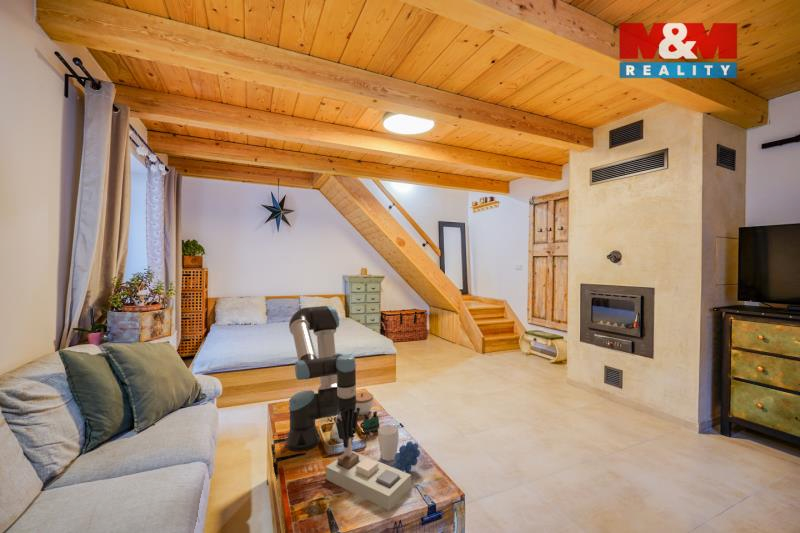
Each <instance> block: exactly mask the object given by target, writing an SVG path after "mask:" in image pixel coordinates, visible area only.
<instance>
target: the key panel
mask: <svg viewBox="0 0 800 533" xmlns="http://www.w3.org/2000/svg"><path fill="white" fill-rule="evenodd" d="M352 452H353V453H355V454H358V455H359V463H360V462H362V461H363V460H364V459H366V458H367V459H370V460H372V461H375V462H377V463H378V471H377V472H376V473H375V474H374V475H372V476H371V477H370V478H369V479H368V478H366V477H364V476H362V475H359V474H357V473H356V465H358V464H359V463H357V464H356V465H355V466H353V467H352V468H350V469H349V470H348V469H346V468H344V467H341V466H339V465H338V458H337V459H335V460H334V461H331V463H329V464H328V465H326V466H325V480H326V481H329V482H331V483H333V484H335V485H337V486H338V487H341V488H343V489H345V490H347V491H349V492H350V493H353V494H355V495H357V496H359V497H361V498H363V499H365V500H367V501H369V502H371V503H373V504H375V505H377V506H379V507H381V508H383V509H385V510H387V511H391V510H392V508H393V507H395V505H396V504H397V503H398V502H399V501H400V500H401V499H402V498H404V496H405V495H406V494H407V493H408V492H409V491H410V490H411V489H412V475H411V474H410V473H409V472H406V471H404V472H403V471H400V470H398V469H395V467H394V466H390V465H388V464H385V463H383V462H380V461H378V460H375V459H373V458H371V457H369V456H366V455H363V454H360V453H358V452H356V451H354V450H352ZM385 470H389V471H391V472H394V473H396V474H399V477H400V480H399V481H398V482H397V483H395V484H394V485H393V486H392V487H391V488H388V487H386V486H384V485H382V484H379V483H377V477H378V476H379V475H381V474H382V473H383V472H384V471H385Z"/></svg>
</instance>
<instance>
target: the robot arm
mask: <svg viewBox="0 0 800 533" xmlns="http://www.w3.org/2000/svg"><path fill="white" fill-rule="evenodd" d="M288 323H289V325H288V326H289V327H288V328H289V332H290V334H291V335H292V337H293V341H294V345H295V351H296V355H297V361H295V363H294V372H295V378H296V380H299V381H301V380H310V379H315V378H316V379H317V378H319V379H320V381H319V382H320V385H319V387H318V389H317V393H315V391H313V390H302V391H299V392H297V393H295V394H293V395H291V397H290V399H289V403H288V404H289V406H288V410H289V431H288V435H287V438H286V441H285V442H286V444H285V445H286V449H288V450H289V451H292V452H305V451H308V450H312V449H313V448H315V447H317V446H318V445H319V444H320V434H319V431H318V428H317V426H316V420H321V419H325V418H330V417H333V420H334V421H333V422H334V423H335V426H336V430H337V434H338V438H339V439H340V440H342V442H343V445H342V446H343V448H344V449H343V450H344V451H343V454H347V455H349V456H350V455H351V454H352V451H353V446H352V445H353V438H355V435H354V434H356V433H357V426H358V419H359V415H358V414H359V411H360V408H358V407H356V406H355V405H356V395H355V394H356V393H357V380H356V379H357V378H356V373H357V372H356V367H357V364H356V358H355V356H353V355H350V354H344V355H343V354H342V353H336V344H335V333H336V332H337V328H339V326H340V318H339V313H338V310H337V309H336V307H335V306H334V305H322V306H308V307H302V308H300V309H298V310H297V311H296V312H295V313H293V315H292V316H291V318H290V320H289V322H288ZM310 331H312V332H313V334H314V335H315V336H316V342H317V352H318V353H317V354H318V358H317V355H316V350H315V347H314V342H313V340H312V336H311V332H310Z"/></svg>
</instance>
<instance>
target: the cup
mask: <svg viewBox="0 0 800 533" xmlns="http://www.w3.org/2000/svg"><path fill="white" fill-rule="evenodd" d="M399 436H400V435H399V427H397V426H396V425H393V424H385V425H381V426H379V429H378V435H377V438H378V439H377V440H378V445H379V446H378V447H379V451H380V458H381V459H382V460H384V461H388V462H390V461H395V455H396V454H397V453H398V446H399Z"/></svg>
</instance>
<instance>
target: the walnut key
mask: <svg viewBox="0 0 800 533" xmlns="http://www.w3.org/2000/svg"><path fill="white" fill-rule="evenodd" d="M353 452H354V451H353ZM353 452H352V454H351V455H350V456H349V455H347V454H344V453H342V454H341V455H339V456H338V457H337V459H338V465H339V466H341V467H344V468H346V469H348V470H349V469H350V468H352V467H353V466H355V465H356V464H357V463H359V455H358V454H359V453H358V454H355V453H353Z"/></svg>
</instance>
